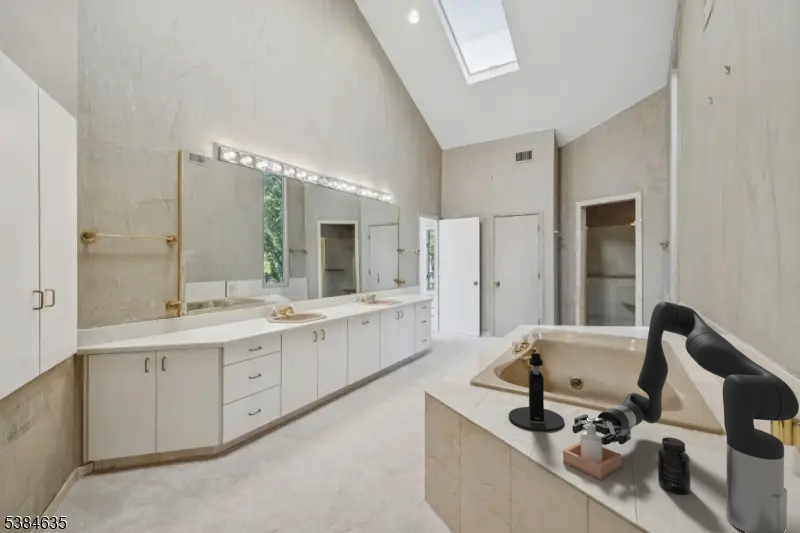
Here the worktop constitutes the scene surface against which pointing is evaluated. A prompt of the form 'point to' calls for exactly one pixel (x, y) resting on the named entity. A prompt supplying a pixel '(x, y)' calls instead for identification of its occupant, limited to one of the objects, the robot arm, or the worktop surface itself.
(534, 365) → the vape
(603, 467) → the tray
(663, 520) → the worktop surface
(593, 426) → the eye dropper bottle
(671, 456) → the supplement bottle
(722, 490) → the worktop surface
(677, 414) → the worktop surface
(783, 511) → the robot arm
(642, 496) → the worktop surface
